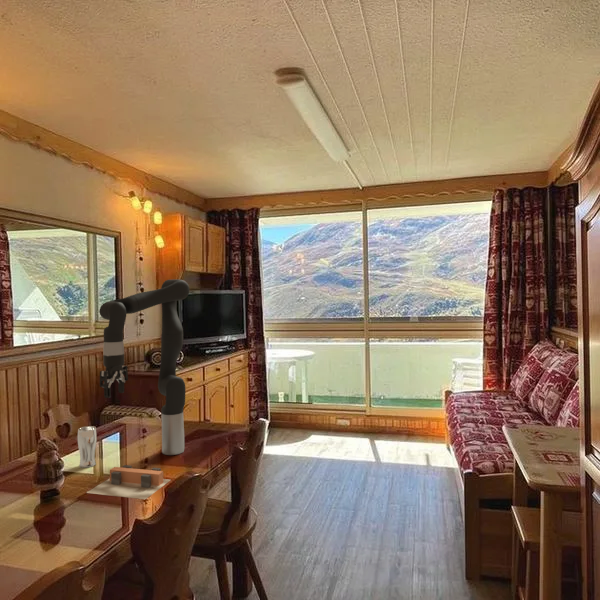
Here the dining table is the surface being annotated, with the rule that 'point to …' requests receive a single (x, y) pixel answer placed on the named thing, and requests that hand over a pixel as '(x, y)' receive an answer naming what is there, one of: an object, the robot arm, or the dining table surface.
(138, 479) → the bar
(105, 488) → the board
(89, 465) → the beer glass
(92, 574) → the dining table surface
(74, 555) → the dining table surface
